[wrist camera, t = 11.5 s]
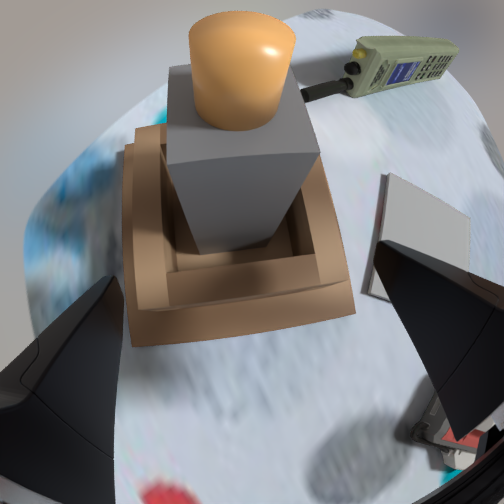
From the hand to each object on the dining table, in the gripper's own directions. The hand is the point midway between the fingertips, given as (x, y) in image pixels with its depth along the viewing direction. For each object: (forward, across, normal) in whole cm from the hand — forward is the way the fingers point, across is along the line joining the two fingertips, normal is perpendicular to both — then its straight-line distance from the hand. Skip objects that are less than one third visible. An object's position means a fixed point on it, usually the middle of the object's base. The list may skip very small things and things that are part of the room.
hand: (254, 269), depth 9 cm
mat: (+7, -15, +6) cm, 18 cm away
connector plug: (+9, 0, +2) cm, 9 cm away
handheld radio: (+20, -19, -8) cm, 29 cm away
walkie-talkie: (-6, -20, +19) cm, 28 cm away
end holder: (+9, 0, +3) cm, 10 cm away
